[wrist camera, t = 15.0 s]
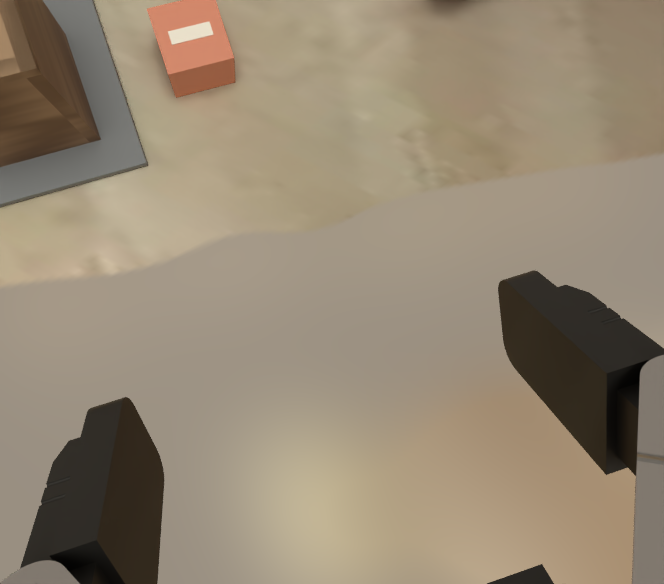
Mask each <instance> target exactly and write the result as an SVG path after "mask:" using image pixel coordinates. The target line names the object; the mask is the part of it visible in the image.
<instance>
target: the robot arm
mask: <svg viewBox="0 0 664 584" xmlns="http://www.w3.org/2000/svg"><path fill="white" fill-rule="evenodd" d="M498 292H499V303H500V313H501V321H502V332H503V341H504V346H505V349H506V352H507V355H508V357H509V360H510V361H511V363H512V365H513V366H514V368H515V369H516V370H517V371H518V373H519V374H520V375H521V376H522V377H523V378H524V380H525V381H526V382H527V383H528V384H529V385H530V386H531V388H532V389H533V390H534V391H535V392H536V393H537V395H538V396H539V397H540V398H541V399H542V400H543V401H544V403H545V404H546V405H547V406H548V408H549V409H550V410H551V411H552V412H553V413H554V415H555V416H556V417H557V418H558V419H559V420H560V421H561V423H562V424H563V425H564V426H565V427H566V429H567V430H568V431H569V432H570V433H571V434H572V436H573V437H574V438H575V439H576V440H577V441H578V442H579V444H580V445H581V446H582V447H583V448H584V450H585V451H586V452H587V453H588V454H589V455H590V457H591V458H592V459H593V460H594V461H595V462H596V464H597V465H598V466H599V467H600V468H601V469H602V470H603V471H604V473H605V474H606V475H607V474H610V473H613V472H616V471H618V470H621V469H624V468H627V467H628V468H629V469H630V470H631V471H632V472H633V473H634V475H635V476H636V487H635V515H634V542H633V568H632V584H664V348H662V347H661V346H660V345H658V344H657V343H656V342H654V341H653V340H652V339H650V338H649V337H648V336H646V335H645V334H643V333H642V332H641V331H640V330H638V329H637V328H635V327H634V326H633V325H631V324H630V323H629V322H627V321H626V320H625V319H621V318H620V315H618V314H617V313H616V312H614V311H613V310H612V309H610V308H608V309H607V307H606V305H605V304H604V303H602V302H601V301H600V300H598V299H597V298H596V297H594V296H593V295H592V294H590V293H589V292H586V291H583V290H579V289H577V288H574V287H571V286H568V285H564V286H560V287H556V286H555V285H554V284H552V283H551V282H550V281H549V280H548V279H546V278H545V277H544V276H543V275H541V274H540V273H539V272H537V271H530V272H528V273H524V274H521V275H518V276H515V277H511V278H508V279H505V280H502V281H501V282H500V283H499V287H498ZM46 484H47V488H45V490H44V493H43V496H42V500H41V503H42V505H41V506H39V509H38V513H37V516H36V519H35V522H34V525H33V529H32V532H31V535H30V538H29V542H28V545H27V548H26V551H25V555H24V558H23V561H22V564H21V568H20V569H19V570H17V571H16V572H14V573H12V574H11V575H10V576H8V577H7V578H6V579H4V580H3V581H2V582H1V583H0V584H157V580H158V564H159V550H160V534H161V521H162V520H161V519H162V505H163V491H164V472H163V466H162V462H161V459H160V456H159V453H158V451H157V449H156V447H155V445H154V443H153V441H152V439H151V437H150V435H149V433H148V432H147V429H146V427H145V426H144V424H143V422H142V420H141V418H140V416H139V414H138V412H137V410H136V408H135V406H134V404H133V403H132V402H131V400H130V399H129V398H127V397H125V398H122V399H118V400H115V401H112V402H109V403H106V404H103V405H99V406H96V407H93V408H90V409H89V410H88V412H87V415H86V419H85V423H84V426H83V430H82V434H81V437H80V438H77V439H74V440H70V441H69V442H68V443H67V444H66V446H65V447H64V449H63V450H62V451H61V452H60V454H59V455H58V456H57V458H56V459H55V460H54V462H53V464H52V467H51V471H50V474H49V477H48V481H47V483H46ZM487 584H554V583H553V582H552V580H551V578H550V577H549V575H548V573H547V572H546V570H545V568H544V567H543V565H542V564H541V565H538V566H535V567H533V568H530V569H527V570H524V571H521V572H519V573H516V574H513V575H510V576H507V577H505V578H502V579H499V580H496V581H493V582H490V583H487Z"/></svg>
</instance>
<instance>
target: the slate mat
mask: <svg viewBox="0 0 664 584" xmlns="http://www.w3.org/2000/svg"><path fill="white" fill-rule="evenodd" d="M43 2H44V3H45V5H46V6H47V8H48V9H49V11H50V12H51V14H52V15H53V16H54V18H55V19H56V21H57V22H58V24H59V25H60V27H61V28H62V30H63V31H64V33H65V34H66V37H67V40H68V43H69V46H70V49H71V52H72V55H73V58H74V61H75V64H76V67H77V70H78V73H79V76H80V79H81V82H82V85H83V88H84V91H85V94H86V96H87V99H88V102H89V105H90V108H91V111H92V114H93V117H94V120H95V123H96V126H97V129H98V132H99V135H100V138H101V140H98V141H94V142H91V143H87V144H83V145H80V146H76V147H72V148H69V149H65V150H61V151H58V152H54V153H50V154H47V155H43V156H39V157H36V158H32V159H28V160H25V161H21V162H18V163H14V164H10V165H7V166H3V167H0V207H3V206H6V205H10V204H13V203H17V202H20V201H24V200H27V199H31V198H34V197H38V196H41V195H45V194H48V193H52V192H56V191H59V190H63V189H66V188H70V187H73V186H77V185H80V184H84V183H87V182H91V181H94V180H98V179H101V178H105V177H108V176H112V175H116V174H119V173H123V172H126V171H130V170H133V169H137V168H140V167H144V166H147V165H148V163H147V160H146V157H145V154H144V151H143V148H142V145H141V142H140V139H139V137H138V134H137V131H136V128H135V125H134V122H133V119H132V116H131V113H130V110H129V107H128V104H127V101H126V98H125V95H124V92H123V89H122V86H121V83H120V80H119V77H118V74H117V71H116V68H115V65H114V62H113V59H112V56H111V53H110V50H109V47H108V44H107V41H106V38H105V35H104V32H103V29H102V26H101V23H100V20H99V17H98V14H97V11H96V8H95V5H94V2H93V0H43Z"/></svg>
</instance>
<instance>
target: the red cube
mask: <svg viewBox="0 0 664 584" xmlns="http://www.w3.org/2000/svg"><path fill="white" fill-rule="evenodd" d="M147 11H148V14H149V17H150V20H151V23H152V26H153V29H154V32H155V35H156V39H157V42H158V45H159V48H160V51H161V54H162V57H163V60H164V63H165V66H166V69H167V72H168V75H169V78H170V81H171V84H172V87H173V90H174V93H175V96H176V98H177V97H181V96H185V95H189V94H192V93H196V92H200V91H204V90H208V89H211V88H215V87H219V86H223V85H227V84H231V83H234V82H235V67H234V56H233V53H232V50H231V47H230V44H229V40H228V37H227V34H226V31H225V28H224V25H223V22H222V19H221V16H220V12H219V9H218V6H217V3H216V0H182V1H177V2H173V3H169V4H165V5H160V6H156V7H152V8H148V9H147Z"/></svg>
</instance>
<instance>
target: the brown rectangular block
mask: <svg viewBox="0 0 664 584" xmlns="http://www.w3.org/2000/svg"><path fill="white" fill-rule="evenodd" d="M98 140H101V138H100V135H99V132H98V129H97V126H96V123H95V120H94V117H93V114H92V111H91V108H90V105H89V102H88V99H87V96H86V94H85V91H84V88H83V85H82V82H81V79H80V76H79V73H78V70H77V67H76V64H75V61H74V58H73V55H72V52H71V49H70V46H69V43H68V40H67V37H66V34H65V33H64V31H63V30H62V28H61V27H60V25H59V24H58V22H57V21H56V19H55V18H54V16H53V15H52V14H51V12H50V11H49V9H48V8H47V6H46V5H45V3H44V2H43V0H0V167H3V166H7V165H10V164H14V163H18V162H21V161H25V160H28V159H32V158H36V157H39V156H43V155H47V154H50V153H54V152H58V151H61V150H65V149H69V148H72V147H76V146H80V145H83V144H87V143H91V142H94V141H98Z"/></svg>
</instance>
